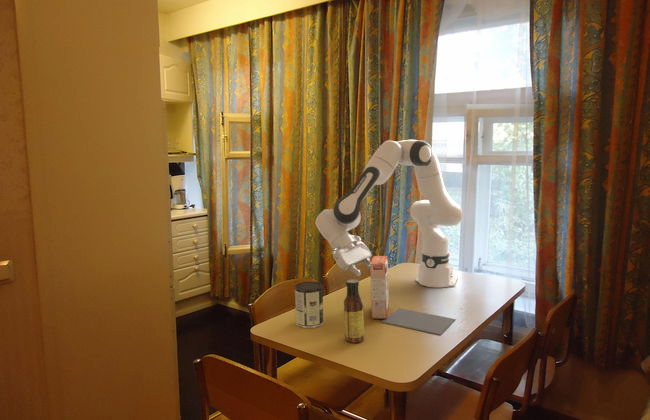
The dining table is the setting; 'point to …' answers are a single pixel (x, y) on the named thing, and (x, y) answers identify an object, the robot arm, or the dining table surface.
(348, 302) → the sauce bottle
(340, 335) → the dining table surface
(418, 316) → the mat
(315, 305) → the coffee can
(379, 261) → the cracker box
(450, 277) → the robot arm
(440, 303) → the dining table surface
